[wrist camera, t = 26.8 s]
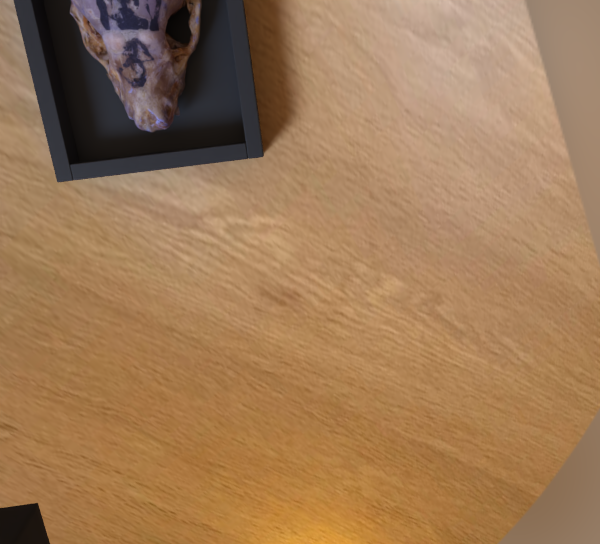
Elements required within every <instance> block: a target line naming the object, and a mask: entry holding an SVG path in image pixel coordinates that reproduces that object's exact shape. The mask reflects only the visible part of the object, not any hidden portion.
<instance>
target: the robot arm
mask: <svg viewBox="0 0 600 544" xmlns="http://www.w3.org/2000/svg"><path fill="white" fill-rule="evenodd" d="M0 544H50V543H49V539H48V536H47V533H46V529H45V526H44V522H43V519H42V516H41V512H40V509H39V506H38V503H34V504H27V505H20V506H13V507H6V508H0Z"/></svg>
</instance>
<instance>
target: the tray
mask: <svg viewBox="0 0 600 544" xmlns="http://www.w3.org/2000/svg"><path fill="white" fill-rule="evenodd" d="M201 3H202V7H201V14H200V19H201V22H200V37H199V41H198V43H197V45H196V50H194V51H193V53H192V54H191V55H190V57H189V59H188V61H187V68H186V74H185V87H184V90H183V92H182V94H181V95H180V96H179V97H178V107H179V111H180V115H179V116H176V115H175V114H174V118H173V122H172V124H171V125H170V126H169V127H168V128H167V129H165V130H164V129H162V130H156V131H154V132H148V131H145V130H141V129H139V128H138V127H137V126H136V124H135V122H134V120H131V119H129V116H128V114H127V112H126V110H125V107H124V104H123V103H122V101H121V100H120V98H119V96H118V94H117V93H116V92H115V89H114V86H113V83H112V81H111V80H110V79H109V77H108V76H107V75H106V74H108V72H107V70H106V69H105V68H104V66H103V65H102V64H101V63H100V62H99V61H98V60H96V59H95V58H94V57H93V56H92V55H91V54H90V53H89V52H88V51H87V49H86V48H85V45H84V43H83V40H82V36H81V32H80V29H79V26H78V23H77V22H76V20H75V19H74V17H73V16H72V15H71V14H70V7H71V0H14V4H15V8H16V12H17V16H18V20H19V24H20V29H21V33H22V37H23V41H24V45H25V49H26V54H27V58H28V62H29V66H30V70H31V74H32V79H33V83H34V87H35V91H36V95H37V99H38V104H39V108H40V112H41V116H42V120H43V124H44V129H45V133H46V137H47V141H48V145H49V149H50V153H51V158H52V162H53V166H54V170H55V174H56V178H57V182H64V181H72V180H80V179H88V178H96V177H104V176H112V175H120V174H129V173H137V172H145V171H153V170H161V169H169V168H177V167H185V166H193V165H201V164H209V163H217V162H226V161H234V160H242V159H248V158H249V159H250V158H258V157H263V156H264V153H263V145H262V138H261V130H260V123H259V115H258V108H257V100H256V92H255V85H254V77H253V70H252V62H251V55H250V47H249V40H248V32H247V25H246V17H245V9H244V2H243V0H201ZM190 16H191V15H190V14H189V12H188V9H187V7H182V8H181V9H180V10H179V11H177V12H176V13H175V14H174V15H173V16H171V17H169V19H168V21H167V25H166V30H165V32H167V33H168V34H169V35H170V36H171V37H172V38H173V39H174V40H176V41H177V42H180V43H189V41H190V36H191V30H190V28H189V24H188V22H189V17H190Z"/></svg>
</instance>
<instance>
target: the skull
mask: <svg viewBox="0 0 600 544" xmlns="http://www.w3.org/2000/svg"><path fill="white" fill-rule="evenodd" d="M182 7H187V9H188V12H189V14H190V15H191V16H190V17H189V22H188V24H189V28H190V30H191V36H190V41H189V43H180V42H177V41H176V40H174V39H173V38H172V37H171V36H170V35H169V34H168V33H167V32H165V30H166V25H167V21H168V19H169V17H171V16H173V15H174V14H175V13H176V12H177V11H179V10H180V9H181V8H182ZM201 7H202V3H201V0H71V7H70V14H71V15H72V16H73V17H74V19H75V20H76V22H77V23H78V26H79V29H80V32H81V36H82V40H83V43H84V45H85V48H86V49H87V51H88V52H89V53H90V54H91V55H92V56H93V57H94V58H95V59H96V60H98V61H99V62H100V63H101V64H102V65H103V66H104V68H105V69H106V70H107V72H108V74H106V75H107V76H108V77H109V79H110V80H111V81H112V83H113V86H114V89H115V92H116V93H117V94H118V96H119V98H120V100H121V101H122V103H123V104H124V107H125V110H126V112H127V114H128V116H129V119H131V120H134V122H135V124H136V126H137V127H138V128H139V129H141V130H145V131H148V132H154V131H156V130H162V129H164V130H165V129H167V128H168V127H169V126H170V125H171V124H172V122H173V118H174V114H175V115H176V116H179V115H180V111H179V107H178V97H179V96H180V95H181V94H182V92H183V90H184V87H185V74H186V68H187V61H188V59H189V57H190V55H191V54H192V53H193V51H194V50H196V45H197V43H198V41H199V37H200V22H201V19H200V14H201Z"/></svg>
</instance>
